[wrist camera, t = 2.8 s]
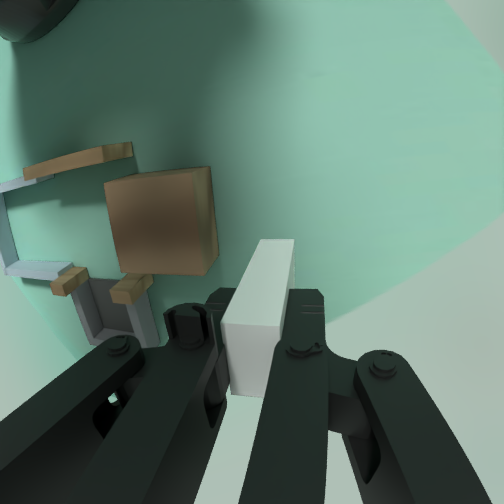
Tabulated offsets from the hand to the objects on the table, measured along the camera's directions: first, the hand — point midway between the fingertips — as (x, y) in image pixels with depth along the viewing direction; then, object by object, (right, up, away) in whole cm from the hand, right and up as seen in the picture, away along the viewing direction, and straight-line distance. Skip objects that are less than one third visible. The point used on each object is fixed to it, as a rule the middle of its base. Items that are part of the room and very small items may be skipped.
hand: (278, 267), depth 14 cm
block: (-7, +4, +10) cm, 13 cm away
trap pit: (-15, -5, +14) cm, 21 cm away
